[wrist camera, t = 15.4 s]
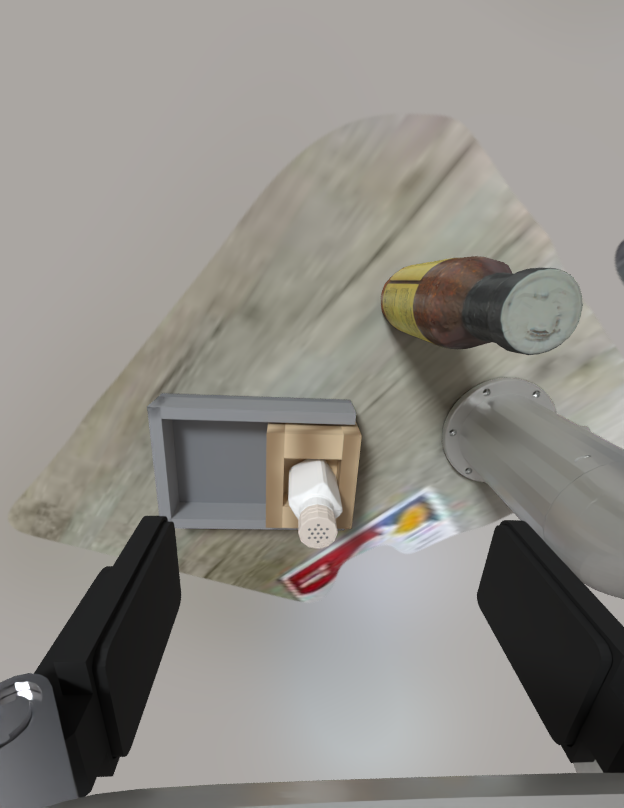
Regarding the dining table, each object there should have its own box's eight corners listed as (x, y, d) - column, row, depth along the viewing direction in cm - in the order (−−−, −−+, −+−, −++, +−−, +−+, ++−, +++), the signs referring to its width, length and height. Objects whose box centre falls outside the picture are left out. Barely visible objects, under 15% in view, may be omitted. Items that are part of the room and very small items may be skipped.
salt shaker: (320, 449, 37) (327, 505, 28) (338, 478, 39) (351, 540, 30) (286, 466, 38) (284, 526, 29) (305, 494, 39) (309, 560, 30)
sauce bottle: (414, 341, 37) (535, 411, 18) (365, 308, 36) (442, 347, 17) (455, 285, 35) (634, 299, 17) (405, 247, 34) (539, 218, 15)
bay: (350, 399, 39) (356, 413, 35) (340, 508, 44) (344, 530, 40) (161, 393, 38) (147, 406, 34) (172, 505, 43) (160, 528, 39)
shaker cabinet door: (354, 417, 38) (361, 435, 34) (345, 503, 42) (351, 528, 38) (269, 415, 38) (266, 433, 34) (268, 501, 42) (265, 527, 37)
